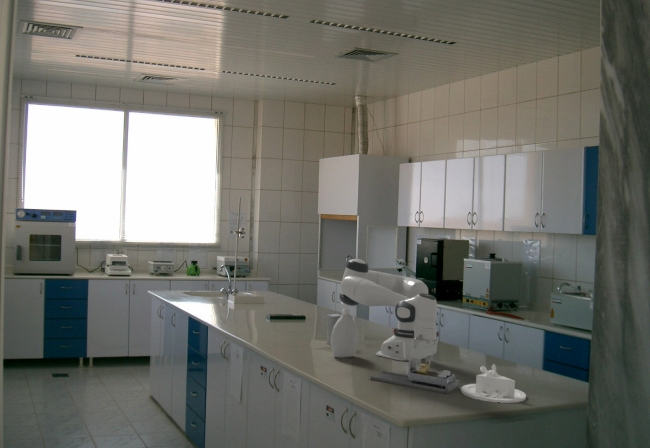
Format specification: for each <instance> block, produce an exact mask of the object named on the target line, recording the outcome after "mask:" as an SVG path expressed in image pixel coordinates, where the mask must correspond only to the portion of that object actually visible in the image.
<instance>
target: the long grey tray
mask: <svg viewBox="0 0 650 448" xmlns="http://www.w3.org/2000/svg"><path fill="white" fill-rule="evenodd" d="M407 370H408V371H407V375H408V379H409V380H412V383H414V384H416V383H417V381H420V382H425V383H431V384H437V385H441V386H440V388H441V389H445V386H446V385H447V384H449V383H451V382H453V381H455V380H456V374H452V373H450V377H448V378H446V379H444V378H438V372H439V371H434V370H430V369H429V376H427V375H421V374H416V370H417V369H416V363H415V360H408V369H407Z"/></svg>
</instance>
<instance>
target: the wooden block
mask: <svg viewBox="0 0 650 448" xmlns="http://www.w3.org/2000/svg"><path fill="white" fill-rule="evenodd" d="M421 365H422V369H421V370H416V374H421V375H427V376H429V370H430V367H431V364H430V365H428V364H425V363H421Z"/></svg>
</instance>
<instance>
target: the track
mask: <svg viewBox="0 0 650 448" xmlns="http://www.w3.org/2000/svg"><path fill="white" fill-rule="evenodd" d="M370 380H372V381H378V382H383V383H388V384H395V385H400V386H404V387H410V388H416V389H420V390H426V391H431V390H432V391H431V392H438V393H442V394H448V395H449V394H450V393H452V392H454V391H456V390H457V389H460V383H459V382H460V380H459V379H455V381H453V382H451V383H449V384H447V385H446V386H445V389H441V388H440V386H441V385H437V384H431V383H425V382H420V381H417V383H416V384H414V383H412V380H409V379H408V374H402V373H397V372H393V371H386V370H383V371H382V372H381V373H380V374H376V375H370Z"/></svg>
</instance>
